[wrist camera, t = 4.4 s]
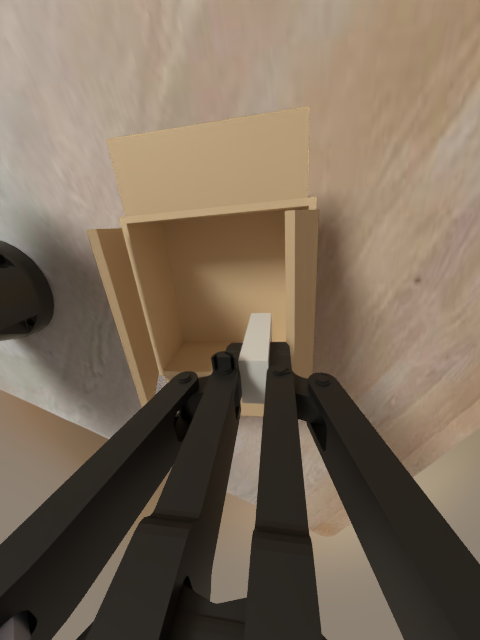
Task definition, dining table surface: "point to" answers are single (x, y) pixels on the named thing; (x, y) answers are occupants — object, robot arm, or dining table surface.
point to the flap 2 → (301, 287)
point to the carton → (211, 230)
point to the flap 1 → (126, 308)
